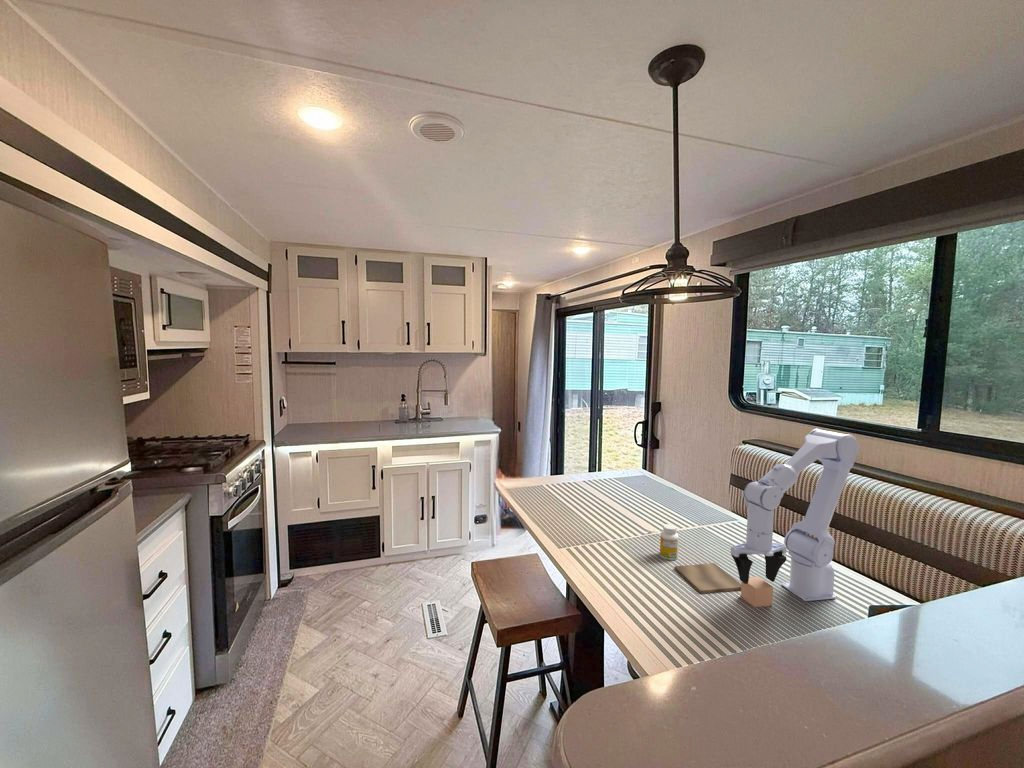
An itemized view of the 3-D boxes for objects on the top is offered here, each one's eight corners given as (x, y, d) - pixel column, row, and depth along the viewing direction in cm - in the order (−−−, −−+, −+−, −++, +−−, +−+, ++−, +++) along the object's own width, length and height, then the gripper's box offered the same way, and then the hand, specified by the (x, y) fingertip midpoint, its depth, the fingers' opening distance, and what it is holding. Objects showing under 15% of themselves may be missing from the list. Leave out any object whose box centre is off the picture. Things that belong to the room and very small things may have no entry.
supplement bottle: (663, 550, 135) (664, 521, 135) (680, 555, 132) (681, 526, 131) (657, 556, 131) (658, 526, 130) (674, 562, 128) (675, 531, 127)
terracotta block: (757, 594, 111) (758, 576, 110) (772, 605, 106) (773, 586, 106) (740, 596, 110) (741, 578, 110) (754, 607, 105) (755, 588, 105)
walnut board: (714, 565, 126) (714, 563, 126) (744, 589, 113) (744, 586, 113) (674, 568, 124) (674, 566, 124) (700, 593, 111) (700, 590, 111)
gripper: (745, 538, 102) (742, 591, 102) (797, 534, 104) (794, 587, 105) (726, 526, 109) (723, 576, 109) (775, 523, 111) (772, 572, 112)
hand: (757, 580), depth 108 cm, fingers open, 7 cm apart
